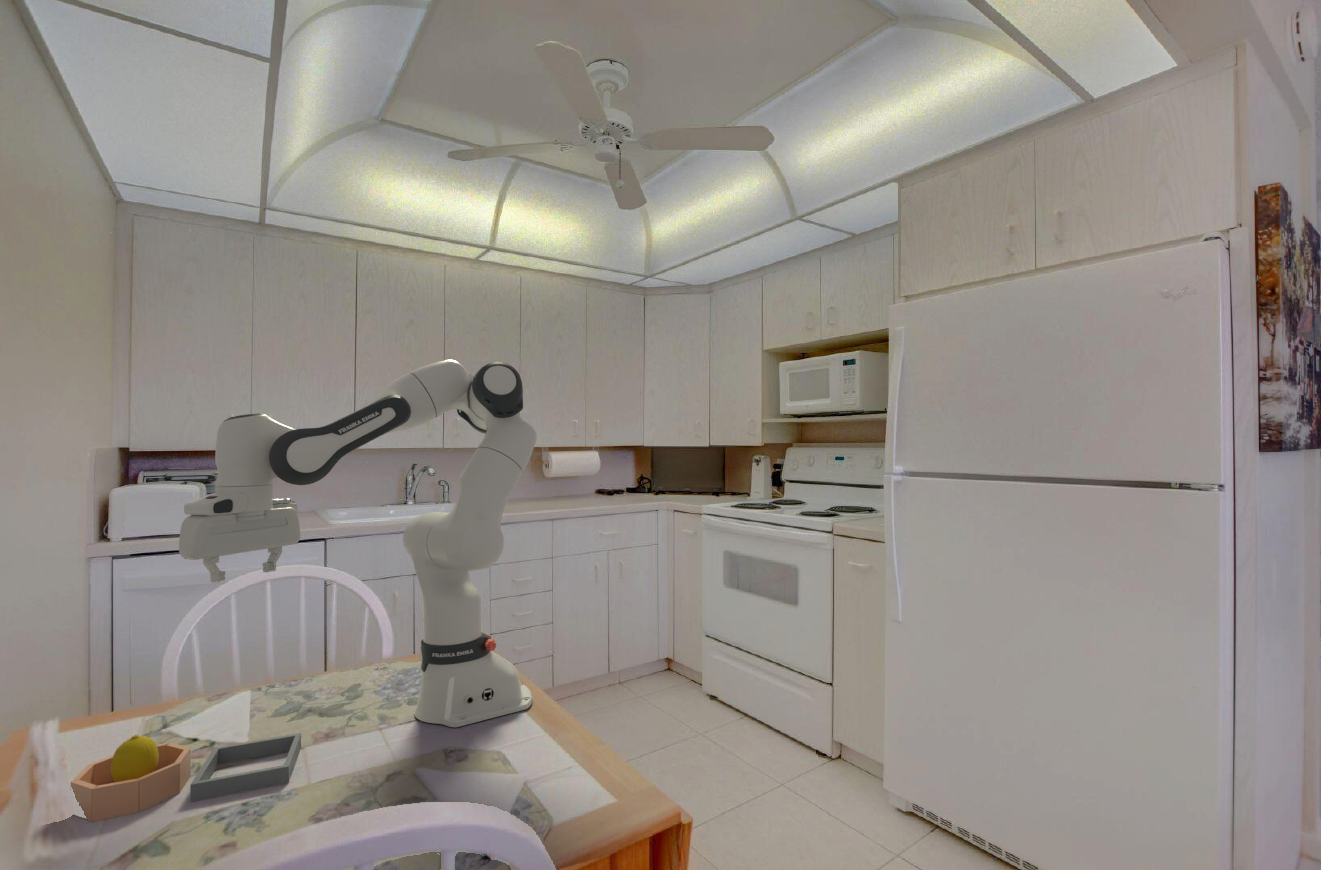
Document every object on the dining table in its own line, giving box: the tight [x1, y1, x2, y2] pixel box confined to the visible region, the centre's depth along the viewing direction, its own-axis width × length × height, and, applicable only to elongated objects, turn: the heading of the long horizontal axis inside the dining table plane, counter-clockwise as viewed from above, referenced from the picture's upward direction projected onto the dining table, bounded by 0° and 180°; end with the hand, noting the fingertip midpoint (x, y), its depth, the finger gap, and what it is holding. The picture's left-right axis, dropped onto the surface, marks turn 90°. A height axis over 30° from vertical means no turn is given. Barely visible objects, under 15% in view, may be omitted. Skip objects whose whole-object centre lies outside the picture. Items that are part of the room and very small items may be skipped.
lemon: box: [111, 734, 159, 782], centre depth 93 cm, size 6×6×8 cm
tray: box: [189, 732, 302, 803], centre depth 99 cm, size 13×13×2 cm
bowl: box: [70, 742, 192, 822], centre depth 93 cm, size 13×13×4 cm
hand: (244, 576), depth 113 cm, fingers open, 8 cm apart
